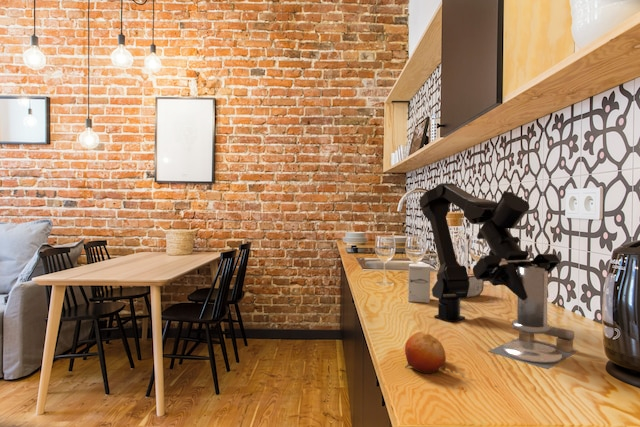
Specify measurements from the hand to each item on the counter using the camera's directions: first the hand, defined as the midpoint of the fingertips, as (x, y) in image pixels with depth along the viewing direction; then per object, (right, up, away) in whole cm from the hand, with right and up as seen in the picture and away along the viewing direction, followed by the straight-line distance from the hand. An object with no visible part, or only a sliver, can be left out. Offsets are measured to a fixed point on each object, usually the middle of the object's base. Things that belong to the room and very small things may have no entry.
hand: (535, 298), depth 81 cm
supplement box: (-10, -13, +56) cm, 58 cm away
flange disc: (0, -12, +1) cm, 12 cm away
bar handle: (+6, -12, +7) cm, 15 cm away
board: (+1, -13, +3) cm, 14 cm away
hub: (0, -7, +1) cm, 7 cm away
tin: (+9, -13, +61) cm, 63 cm away
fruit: (-24, -14, -4) cm, 28 cm away
